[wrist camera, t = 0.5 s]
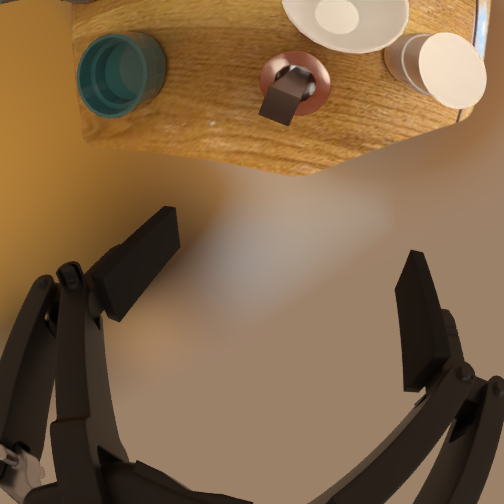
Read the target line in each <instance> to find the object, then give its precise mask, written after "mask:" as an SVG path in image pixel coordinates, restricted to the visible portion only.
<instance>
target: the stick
mask: <svg viewBox="0 0 504 504" xmlns="http://www.w3.org/2000/svg"><path fill="white" fill-rule="evenodd" d="M309 76H310V73H309V72H307V71H305V70H302V69H300V68H297V67H295V68H294V69H292V70H291V71H289V72H288V73H287V74H285V75H284V76H283V77H281V78H280V79H279V80H277V81H276V82H275V83H273V84H272V85H271V86H269V88H268V90H267V93H266V95H265V98H264V100H263V103H262V106H261V108H260V111H259V115H261V116H263V117H266V118H269V119H271V120H274V121H276V122H279V123H281V124H283V125H286V126H289V125H290V123H291V120H292V118H293V116H294V114H295V111H296V109H297V107H298V105H299V102H300V100H301V98H302V95H303V92H304V89H305V87H306V84H307V81H308V78H309Z"/></svg>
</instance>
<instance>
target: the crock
mask: <svg viewBox="0 0 504 504" xmlns="http://www.w3.org/2000/svg"><path fill="white" fill-rule="evenodd" d="M295 67H297V68H300V69H302V70H305V71H307V72H309V73H310V76H309V78H308V81H307V84H306V87H305V89H304V92H303V95H302V98H301V100H300V102H299V105H298V107H297V109H296V111H295V114H294V116H304V115H307V114H310V113H313V112H316V111H317V110H318V109H319V108H320V107H322V106H323V105H324V104H325V103H326V101H327V99H328V97H329V95H330V92H331V78H330V76H329V73H328V71H327V69H326V67H325V64H324V63H323V62H322V61H321V60H320V59H319V58H318V57H317V56H315V55H313V54H311V53H309V52H306V51H285V52H282V53H280V54H277V55H274V56H273V57H272V58H271V59H270V60H269V61H268V62H267V63H266V64H265V65H264V67H263V69H262V72H261V75H260V89H261V92H262V94H263V96H264V98H265V95H266V93H267V90H268V88H269V86H271V85H272V84H273V83H275V82H276V81H277V80H279V79H280V78H281V77H283V76H284V75H285V74H287V73H288V72H289V71H291V70H292V69H294V68H295Z"/></svg>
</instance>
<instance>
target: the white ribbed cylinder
mask: <svg viewBox="0 0 504 504" xmlns="http://www.w3.org/2000/svg"><path fill="white" fill-rule="evenodd" d="M384 60H385V63H386V66H387V68H388V70H389V71H390V73H391V74H392V75H393V76H394V77H395V78H396V79H397V80H398V81H400V82H402V83H404V84H405V85H406V86H408V87H410V88H412V89H413V90H415V91H417V92H419V93H421V94H425V95H428V96H433V97H434V99H436V100H437V101H439V102H440V103H442V104H443V105H445V106H448V107H451V108H454V109H464V108H469V107H471V106H473V105H474V104H476V103H477V102H478V101H479V100H480V98H481V97H482V95H483V93H484V91H485V87H486V70H485V67H484V63H483V60H482V58H481V57H480V55H479V53H478V51H477V50H476V49H475V48H474V47H473V45H472V44H471V43H469V42H468V41H467V40H466V39H464V38H463V37H461V36H458V35H456V34H453V33H447V32H442V33H436V34H430V33H414V34H407V35H401V36H400V37H399V38H398V39H397V40H396V41H395V42H393V43H392V44H391V45H389V46H387V47H386V48H385V50H384Z"/></svg>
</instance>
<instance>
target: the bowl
mask: <svg viewBox="0 0 504 504" xmlns="http://www.w3.org/2000/svg"><path fill="white" fill-rule="evenodd" d="M165 75H166V59H165V56H164V53H163V51H162V48H161V46H160V45H159V44H158V43H157V42H156V40H155V39H154V38H153V37H151V36H149V35H147V34H145V33H143V32H134V31H131V32H119V33H110V34H107V35H104V36H101V37H99V38H97V39H96V40H95V41H93V42H92V43H91V44H90V45H89V46H88V47H87V49H86V50H85V52H84V53H83V54H82V57H81V60H80V62H79V65H78V71H77V84H78V91H79V93H80V96H81V98H82V100H83V102H84V103H85V105H86V106H87V107H88V108H89V110H91V111H92V112H94V113H95V114H96V115H98V116H101V117H105V118H108V119H109V118H118V117H121V116H123V115H125V114H127V113H129V112H131V111H133V110H135V109H137V108H139V107H141V106H143V105H145V104H148V103H149V102H150V101H151V100H152V99H153V98H154V97H155V96H156V95H157V94H158V92H159V91H160V89H161V87H162V85H163V83H164V79H165Z"/></svg>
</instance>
